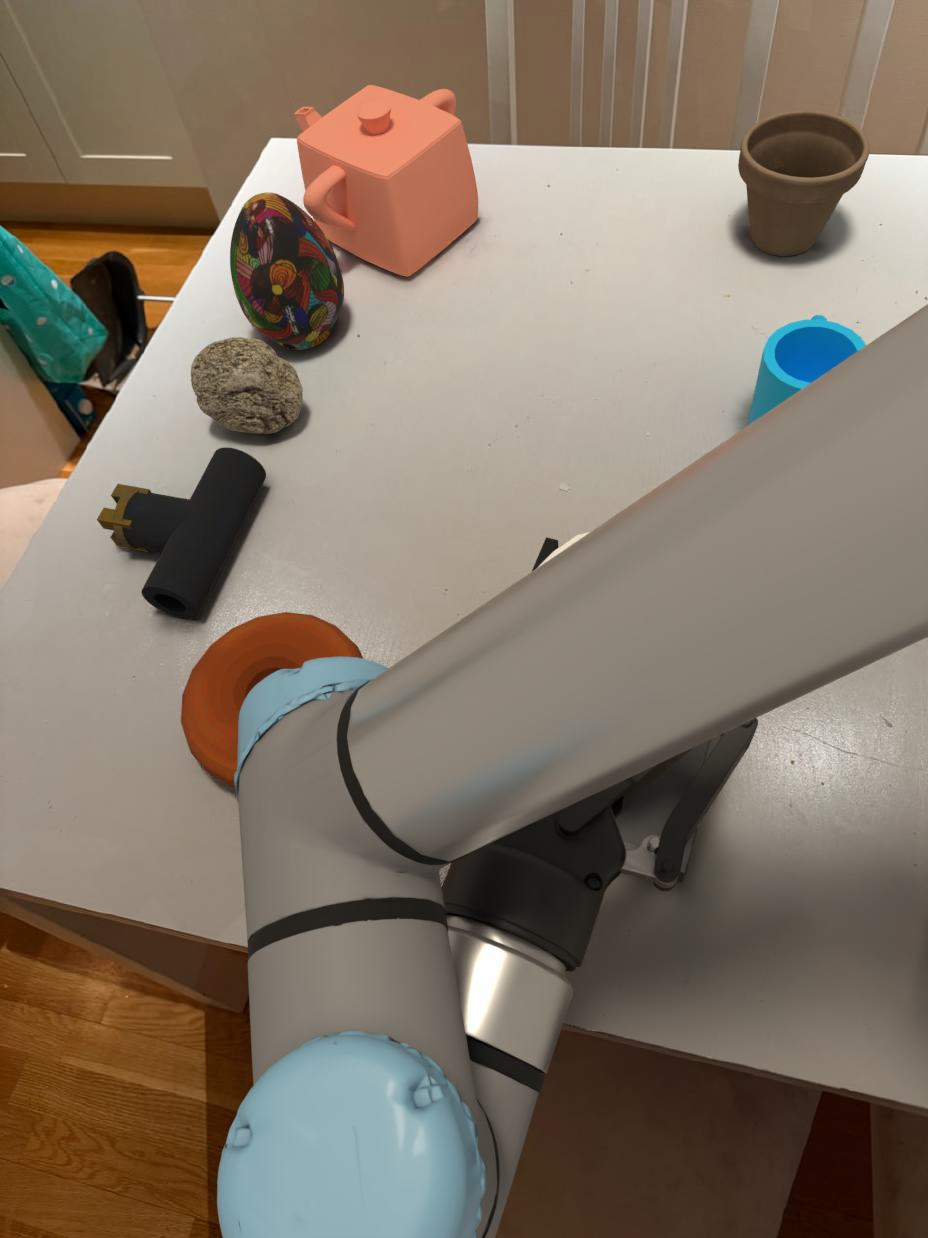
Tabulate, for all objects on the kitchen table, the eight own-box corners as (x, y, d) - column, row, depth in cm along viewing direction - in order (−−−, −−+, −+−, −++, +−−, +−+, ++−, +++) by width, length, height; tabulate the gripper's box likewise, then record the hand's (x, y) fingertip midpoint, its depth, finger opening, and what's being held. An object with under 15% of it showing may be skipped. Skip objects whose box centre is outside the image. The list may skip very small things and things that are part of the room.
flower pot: (846, 204, 93) (872, 107, 84) (842, 276, 87) (869, 182, 79) (732, 199, 95) (747, 105, 87) (721, 269, 90) (735, 177, 81)
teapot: (513, 198, 100) (502, 71, 88) (379, 311, 93) (347, 189, 81) (387, 146, 108) (362, 23, 96) (256, 246, 101) (211, 127, 89)
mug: (840, 466, 76) (865, 397, 69) (741, 452, 78) (756, 384, 71) (852, 366, 81) (877, 293, 74) (760, 355, 83) (776, 283, 76)
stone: (297, 452, 84) (264, 374, 76) (206, 441, 87) (163, 364, 78) (319, 404, 87) (289, 323, 79) (230, 394, 89) (191, 315, 81)
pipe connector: (62, 567, 74) (141, 432, 81) (92, 600, 78) (164, 469, 85) (185, 592, 71) (255, 450, 78) (208, 624, 76) (273, 488, 83)
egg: (236, 352, 92) (179, 225, 80) (288, 286, 97) (242, 155, 84) (323, 375, 89) (278, 246, 76) (372, 306, 94) (337, 173, 81)
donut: (161, 770, 69) (133, 745, 65) (247, 613, 76) (226, 581, 71) (331, 828, 65) (312, 805, 61) (406, 656, 71) (394, 625, 67)
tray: (733, 697, 66) (738, 683, 64) (681, 882, 60) (684, 873, 58) (548, 644, 70) (547, 629, 68) (482, 812, 64) (478, 801, 62)
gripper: (318, 884, 49) (468, 562, 58) (727, 1049, 42) (820, 656, 52) (277, 845, 42) (454, 490, 52) (752, 1032, 36) (853, 587, 45)
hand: (637, 573), depth 52 cm, fingers closed on cup, 10 cm apart
